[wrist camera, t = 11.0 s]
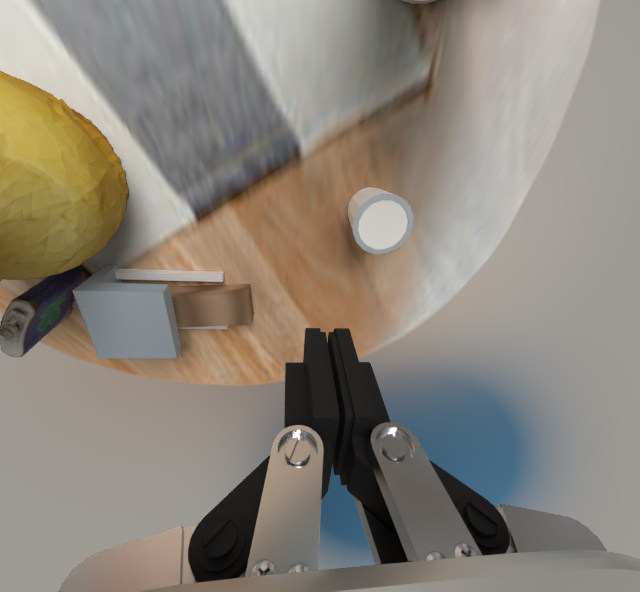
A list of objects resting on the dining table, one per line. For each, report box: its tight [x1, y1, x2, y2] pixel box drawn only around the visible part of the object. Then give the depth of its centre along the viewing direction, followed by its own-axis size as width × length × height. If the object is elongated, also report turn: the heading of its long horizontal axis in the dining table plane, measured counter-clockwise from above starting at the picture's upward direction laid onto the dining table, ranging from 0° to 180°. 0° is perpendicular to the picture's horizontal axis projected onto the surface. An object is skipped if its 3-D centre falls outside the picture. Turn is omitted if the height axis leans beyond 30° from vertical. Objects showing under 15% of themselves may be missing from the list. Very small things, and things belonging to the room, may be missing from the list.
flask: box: [0, 266, 84, 357], centre depth 35 cm, size 9×3×11 cm, turn 146°
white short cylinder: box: [347, 187, 414, 254], centre depth 35 cm, size 7×7×7 cm
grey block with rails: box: [72, 265, 228, 359], centre depth 39 cm, size 15×10×7 cm, turn 86°
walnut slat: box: [169, 284, 254, 328], centre depth 41 cm, size 17×5×3 cm, turn 89°
